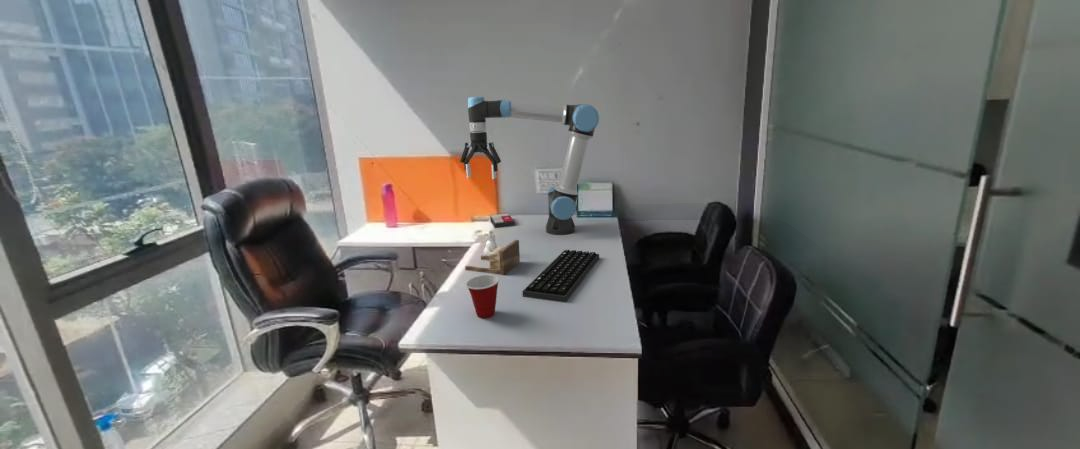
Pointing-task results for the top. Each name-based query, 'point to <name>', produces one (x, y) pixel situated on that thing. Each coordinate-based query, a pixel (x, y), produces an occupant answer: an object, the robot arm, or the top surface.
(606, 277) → the top surface
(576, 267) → the computer keyboard
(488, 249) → the white creature statuette
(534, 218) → the top surface
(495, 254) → the offcut stack
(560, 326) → the top surface
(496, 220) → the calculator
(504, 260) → the walnut rack
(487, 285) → the plastic cup
